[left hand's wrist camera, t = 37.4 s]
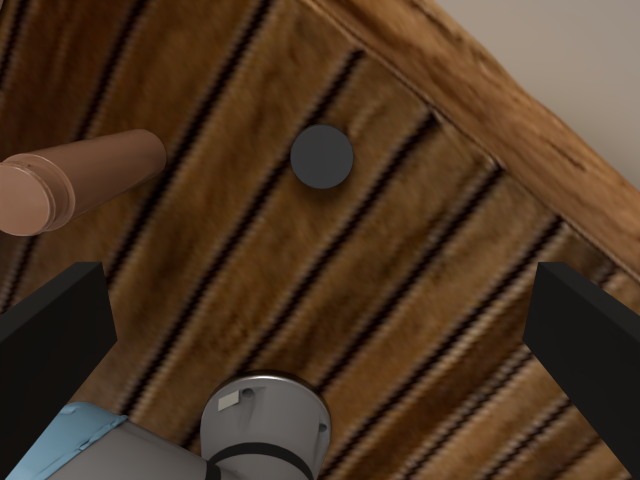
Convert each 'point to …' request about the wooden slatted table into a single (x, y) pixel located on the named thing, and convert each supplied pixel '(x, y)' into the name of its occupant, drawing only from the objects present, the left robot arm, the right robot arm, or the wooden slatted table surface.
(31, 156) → the jar
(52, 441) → the left robot arm
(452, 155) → the wooden slatted table surface
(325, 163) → the lid
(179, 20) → the wooden slatted table surface
